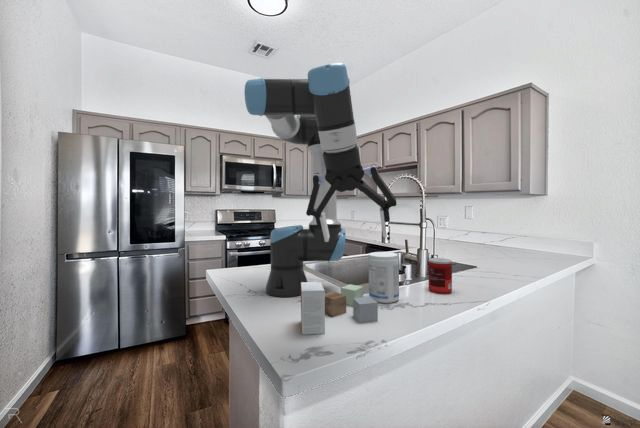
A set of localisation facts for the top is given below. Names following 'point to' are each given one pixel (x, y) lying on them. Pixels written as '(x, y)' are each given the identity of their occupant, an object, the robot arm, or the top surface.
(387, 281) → the supplement tub
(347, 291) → the sage green block
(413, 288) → the top surface
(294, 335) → the top surface
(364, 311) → the slate grey block
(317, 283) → the small box
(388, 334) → the top surface
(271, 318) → the top surface
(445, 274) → the canned food
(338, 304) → the walnut block
